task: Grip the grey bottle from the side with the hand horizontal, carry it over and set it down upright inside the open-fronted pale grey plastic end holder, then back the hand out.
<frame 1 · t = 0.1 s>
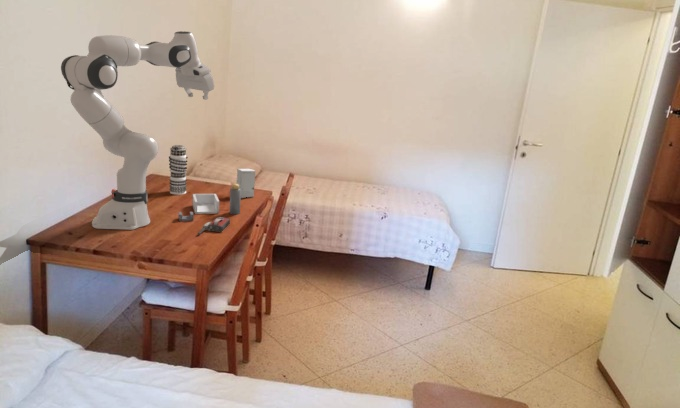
hand: (198, 98, 221), 52 cm above the table, tool tilted 20°, fingers open, 8 cm apart
cable clip: (186, 219, 213), on the table
end holder: (205, 209, 229), on the table
skincare box: (245, 196, 257), on the table
decorative candle: (178, 192, 252), on the table
grey bottle: (234, 212, 229), on the table
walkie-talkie: (214, 230, 206), on the table
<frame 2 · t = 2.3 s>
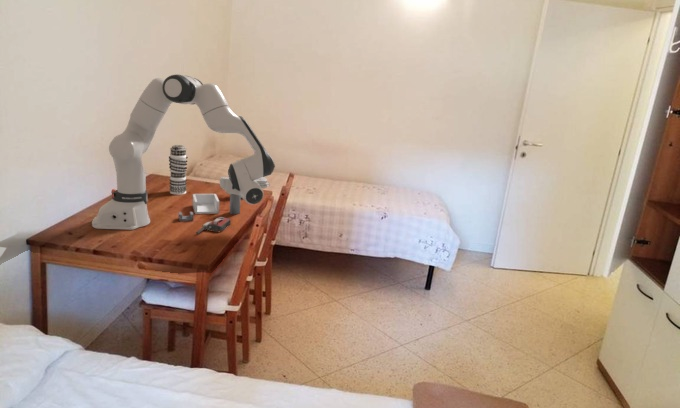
hand: (240, 178, 213), 20 cm above the table, tool horizontal, fingers open, 8 cm apart
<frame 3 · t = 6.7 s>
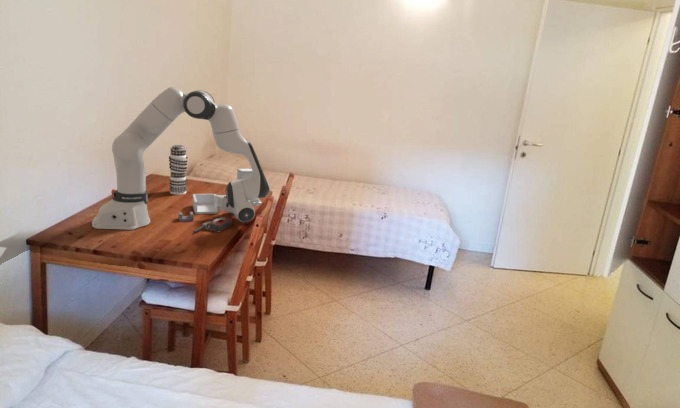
hand: (235, 195, 227), 9 cm above the table, tool horizontal, fingers closed on grey bottle, 5 cm apart
grey bottle: (234, 212, 229), on the table, touching gripper
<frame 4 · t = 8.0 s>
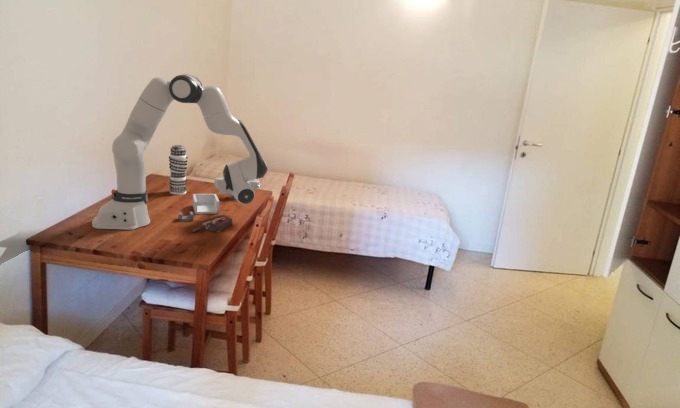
hand: (234, 178, 225), 17 cm above the table, tool horizontal, fingers closed on grey bottle, 5 cm apart
grey bottle: (234, 196, 226), point 8 cm above the table, touching gripper
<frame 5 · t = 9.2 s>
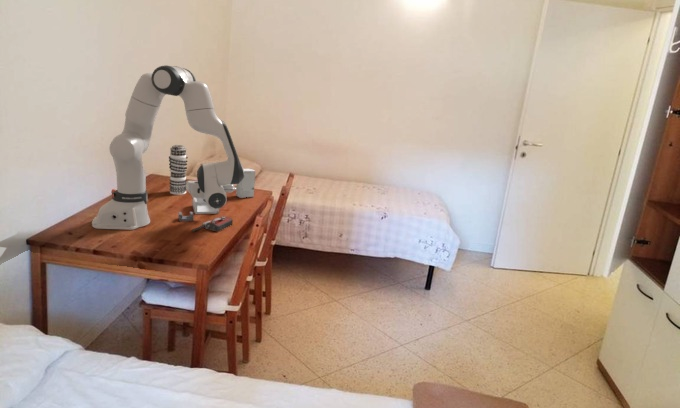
hand: (208, 181, 214), 17 cm above the table, tool horizontal, fingers closed on grey bottle, 5 cm apart
grey bottle: (208, 200, 216), point 8 cm above the table, touching gripper
when the fingers open (11 cm above the table, at t = 12.9 s): grey bottle drops 1 cm, resting on end holder.
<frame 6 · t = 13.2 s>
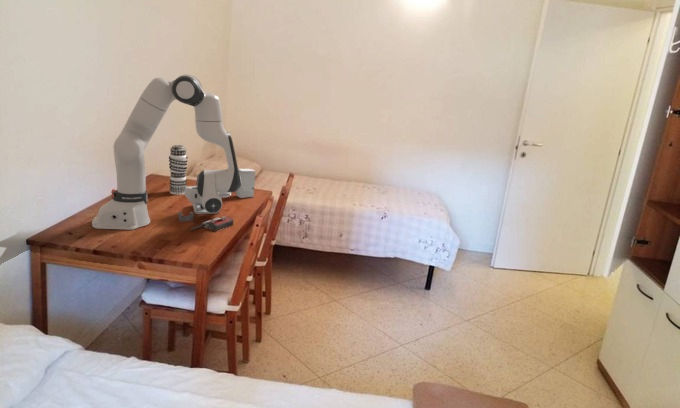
hand: (205, 187, 227), 11 cm above the table, tool horizontal, fingers open, 8 cm apart
grey bottle: (205, 207, 229), point 1 cm above the table, touching end holder
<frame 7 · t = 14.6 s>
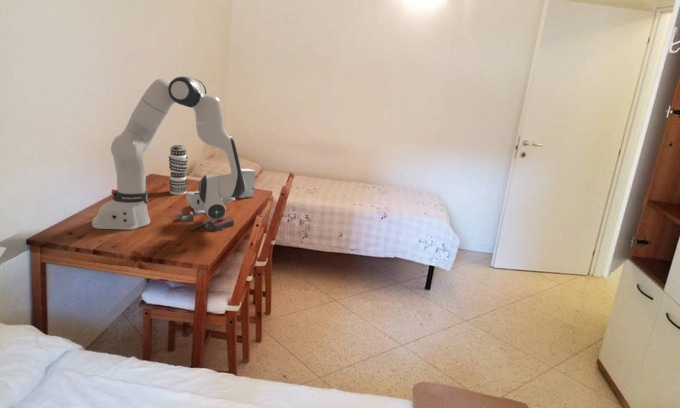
hand: (208, 192, 219), 11 cm above the table, tool horizontal, fingers open, 8 cm apart
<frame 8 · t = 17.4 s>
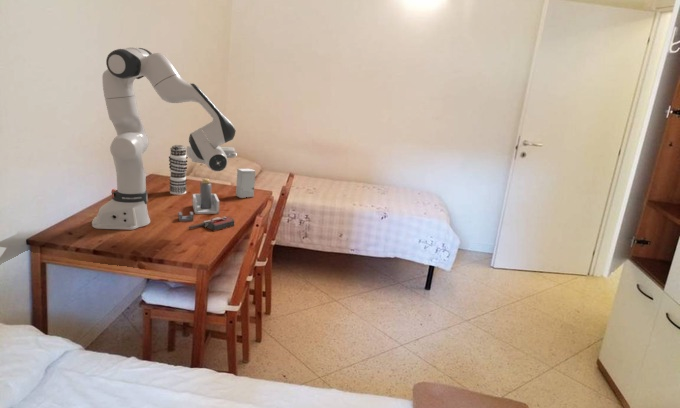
hand: (209, 148, 211), 32 cm above the table, tool horizontal, fingers open, 8 cm apart
at the end: grey bottle inside the target area on the end holder (0.1 cm from its centre), point 1.0 cm above the end holder's base; grey bottle tilted 0°; the gripper is holding nothing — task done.
